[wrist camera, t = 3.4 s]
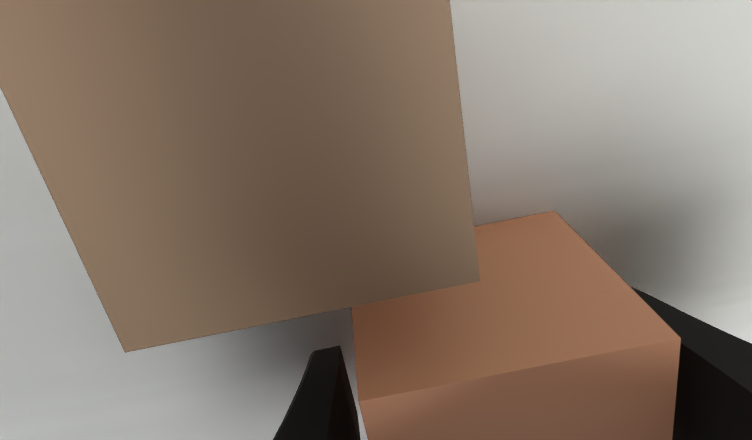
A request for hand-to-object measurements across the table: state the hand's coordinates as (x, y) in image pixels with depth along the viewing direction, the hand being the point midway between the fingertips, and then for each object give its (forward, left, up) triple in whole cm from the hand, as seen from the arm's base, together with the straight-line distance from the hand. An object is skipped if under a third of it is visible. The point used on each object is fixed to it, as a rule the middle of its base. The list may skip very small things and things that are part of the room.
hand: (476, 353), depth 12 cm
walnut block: (-6, +4, -2) cm, 7 cm away
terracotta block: (0, 0, -2) cm, 2 cm away
